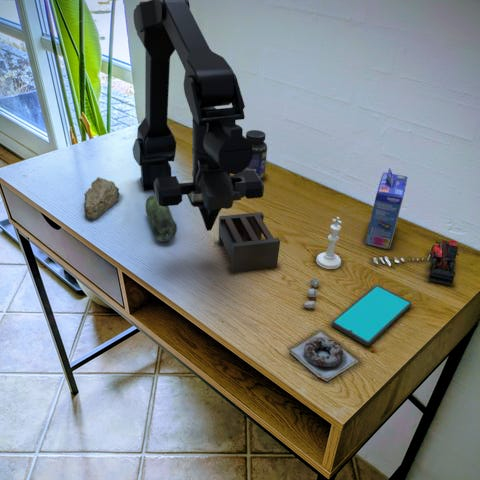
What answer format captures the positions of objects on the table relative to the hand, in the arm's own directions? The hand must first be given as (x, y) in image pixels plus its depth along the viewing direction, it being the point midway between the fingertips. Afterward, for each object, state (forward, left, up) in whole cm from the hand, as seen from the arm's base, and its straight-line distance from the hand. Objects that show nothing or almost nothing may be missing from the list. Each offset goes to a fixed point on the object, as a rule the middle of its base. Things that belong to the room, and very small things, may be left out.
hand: (208, 229), depth 92 cm
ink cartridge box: (+38, +1, -7) cm, 39 cm away
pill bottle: (+20, +33, -7) cm, 39 cm away
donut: (+12, -30, -7) cm, 33 cm away
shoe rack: (+8, 0, -7) cm, 10 cm away
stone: (-20, +25, -2) cm, 32 cm away
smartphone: (+24, -23, -7) cm, 34 cm away
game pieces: (+17, -16, -6) cm, 24 cm away
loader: (+45, -13, -7) cm, 47 cm away
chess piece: (+23, -6, -7) cm, 25 cm away
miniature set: (+38, -9, -7) cm, 40 cm away
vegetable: (-10, +13, -5) cm, 17 cm away
